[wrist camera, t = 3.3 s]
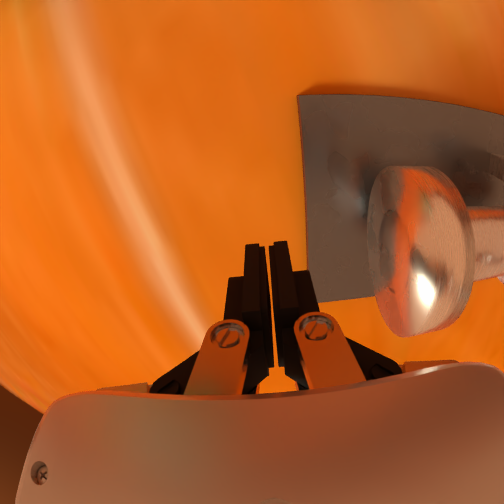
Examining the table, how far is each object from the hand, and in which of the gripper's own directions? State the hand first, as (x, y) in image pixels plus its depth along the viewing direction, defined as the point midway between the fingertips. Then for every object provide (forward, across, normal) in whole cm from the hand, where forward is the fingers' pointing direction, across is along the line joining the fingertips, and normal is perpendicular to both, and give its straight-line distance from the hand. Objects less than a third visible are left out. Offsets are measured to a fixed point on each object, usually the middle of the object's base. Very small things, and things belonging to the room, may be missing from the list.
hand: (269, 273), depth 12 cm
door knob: (+5, -13, 0) cm, 14 cm away
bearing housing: (+7, -15, 0) cm, 17 cm away
